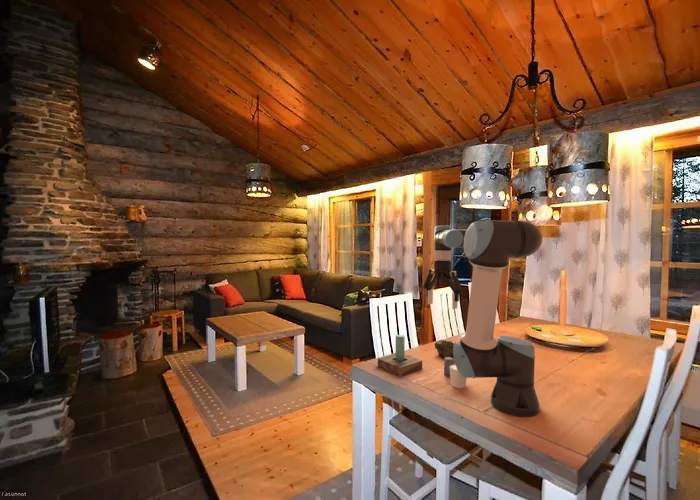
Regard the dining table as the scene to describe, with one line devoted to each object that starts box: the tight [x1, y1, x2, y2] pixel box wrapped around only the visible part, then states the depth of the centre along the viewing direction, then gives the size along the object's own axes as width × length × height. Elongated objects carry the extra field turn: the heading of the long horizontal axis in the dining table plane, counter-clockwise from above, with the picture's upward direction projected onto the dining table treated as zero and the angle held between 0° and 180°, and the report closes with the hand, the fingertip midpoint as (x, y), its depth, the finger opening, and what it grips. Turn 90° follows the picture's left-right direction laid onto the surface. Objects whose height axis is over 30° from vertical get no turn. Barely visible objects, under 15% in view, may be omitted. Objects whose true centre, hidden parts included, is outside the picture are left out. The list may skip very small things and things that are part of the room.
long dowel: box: [395, 334, 406, 362], centre depth 155 cm, size 4×4×14 cm
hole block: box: [377, 352, 423, 377], centre depth 155 cm, size 14×14×4 cm
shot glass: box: [449, 364, 468, 389], centre depth 137 cm, size 7×7×7 cm
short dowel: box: [443, 357, 455, 378], centre depth 146 cm, size 4×4×7 cm
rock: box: [434, 339, 455, 358], centre depth 168 cm, size 12×9×8 cm
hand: (442, 306), depth 158 cm, fingers open, 13 cm apart
